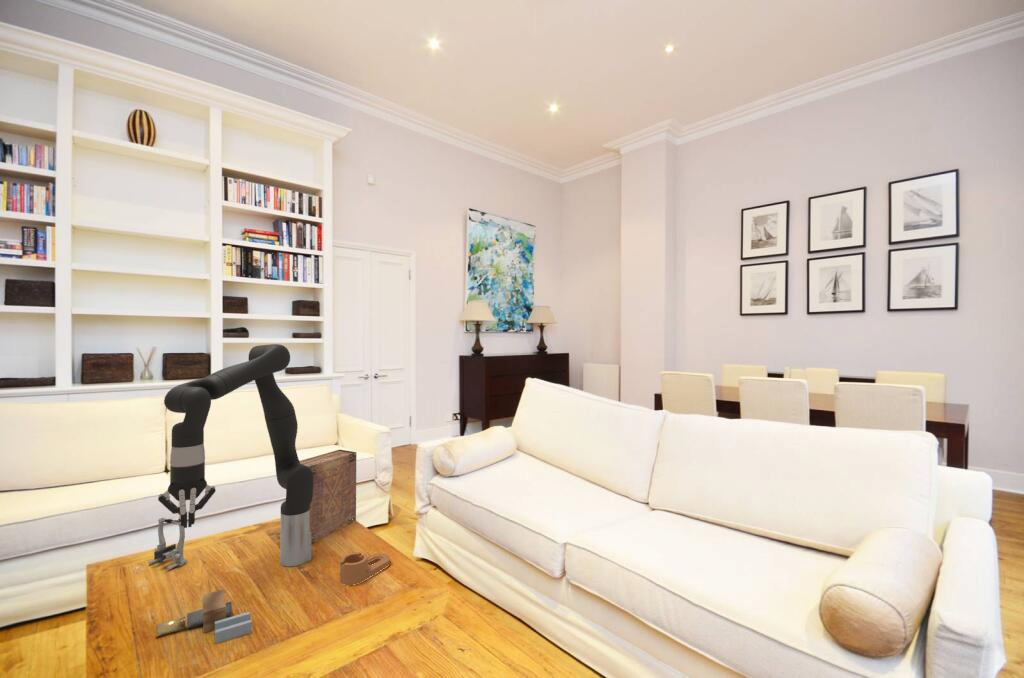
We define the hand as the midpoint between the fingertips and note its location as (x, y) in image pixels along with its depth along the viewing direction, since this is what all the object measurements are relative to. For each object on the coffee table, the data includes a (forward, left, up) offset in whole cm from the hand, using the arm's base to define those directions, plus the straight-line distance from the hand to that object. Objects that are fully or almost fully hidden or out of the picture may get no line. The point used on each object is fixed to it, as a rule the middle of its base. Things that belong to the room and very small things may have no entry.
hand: (187, 526), depth 123 cm
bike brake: (+6, -43, -27) cm, 51 cm away
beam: (-6, 0, -27) cm, 28 cm away
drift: (+3, 0, -27) cm, 27 cm away
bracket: (-48, -2, -27) cm, 55 cm away
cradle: (-10, +9, -27) cm, 30 cm away
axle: (-5, 0, -27) cm, 28 cm away
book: (-43, -41, -27) cm, 65 cm away
